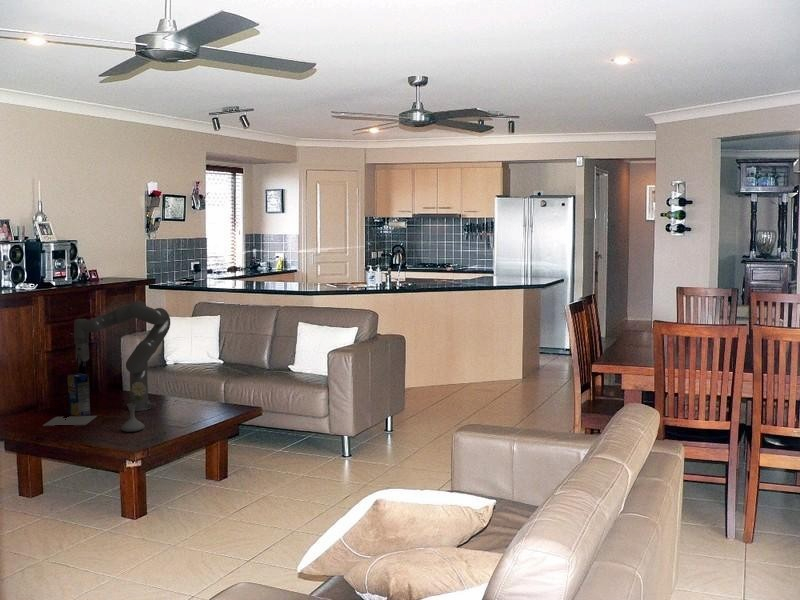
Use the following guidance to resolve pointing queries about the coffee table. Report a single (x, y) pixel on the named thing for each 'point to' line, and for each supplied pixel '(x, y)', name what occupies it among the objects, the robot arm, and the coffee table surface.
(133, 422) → the flower in vase
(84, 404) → the beverage box
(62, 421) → the mat
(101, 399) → the coffee table surface
